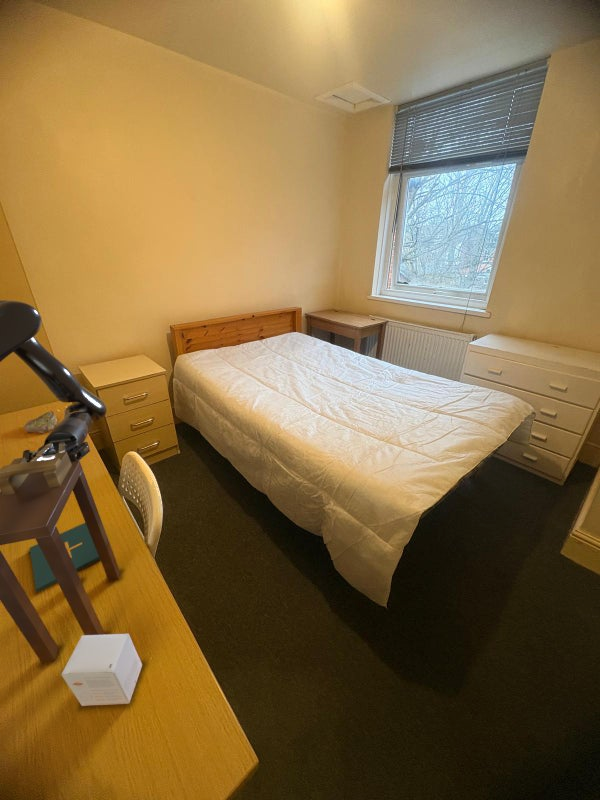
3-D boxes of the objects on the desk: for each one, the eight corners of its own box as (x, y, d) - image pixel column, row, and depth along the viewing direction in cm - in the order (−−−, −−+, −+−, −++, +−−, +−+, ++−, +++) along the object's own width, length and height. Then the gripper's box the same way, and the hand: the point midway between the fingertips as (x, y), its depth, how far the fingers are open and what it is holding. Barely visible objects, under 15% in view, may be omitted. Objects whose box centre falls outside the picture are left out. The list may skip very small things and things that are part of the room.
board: (37, 592, 70) (35, 589, 69) (31, 550, 79) (29, 547, 79) (108, 555, 78) (107, 552, 78) (94, 521, 88) (93, 518, 87)
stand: (42, 664, 58) (-52, 522, 42) (71, 583, 72) (8, 452, 56) (103, 646, 61) (36, 506, 45) (120, 571, 74) (73, 444, 58)
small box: (143, 665, 58) (130, 632, 53) (129, 705, 53) (113, 672, 48) (98, 666, 58) (81, 633, 53) (80, 707, 53) (59, 674, 48)
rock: (36, 420, 135) (31, 413, 133) (62, 414, 138) (57, 408, 136) (24, 439, 125) (18, 432, 123) (52, 433, 127) (47, 426, 125)
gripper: (31, 427, 81) (-5, 464, 66) (95, 420, 85) (74, 453, 70) (41, 453, 84) (8, 494, 69) (101, 444, 88) (83, 481, 73)
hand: (41, 473), depth 69 cm, fingers closed on stone bar, 4 cm apart
